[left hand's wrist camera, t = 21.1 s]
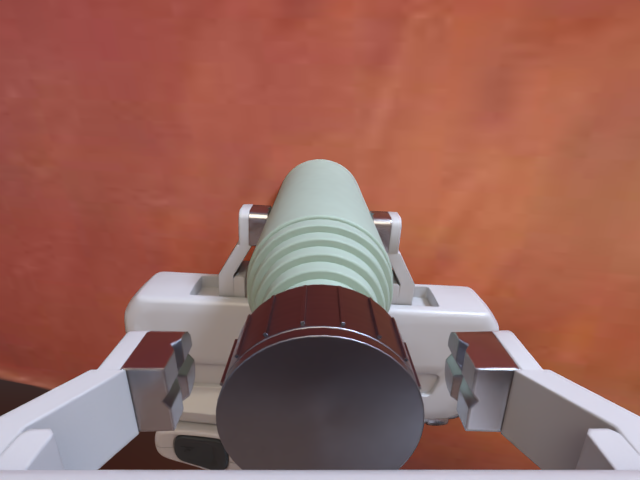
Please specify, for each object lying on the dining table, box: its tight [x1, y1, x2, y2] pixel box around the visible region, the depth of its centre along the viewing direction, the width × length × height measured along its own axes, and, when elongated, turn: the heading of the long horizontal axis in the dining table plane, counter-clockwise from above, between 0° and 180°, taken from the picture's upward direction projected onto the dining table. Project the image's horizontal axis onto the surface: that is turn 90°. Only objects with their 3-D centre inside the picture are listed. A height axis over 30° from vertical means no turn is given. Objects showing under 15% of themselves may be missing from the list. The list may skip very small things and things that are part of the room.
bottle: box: [247, 159, 393, 313], centre depth 17 cm, size 5×5×18 cm
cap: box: [216, 284, 425, 470], centre depth 9 cm, size 4×4×2 cm
